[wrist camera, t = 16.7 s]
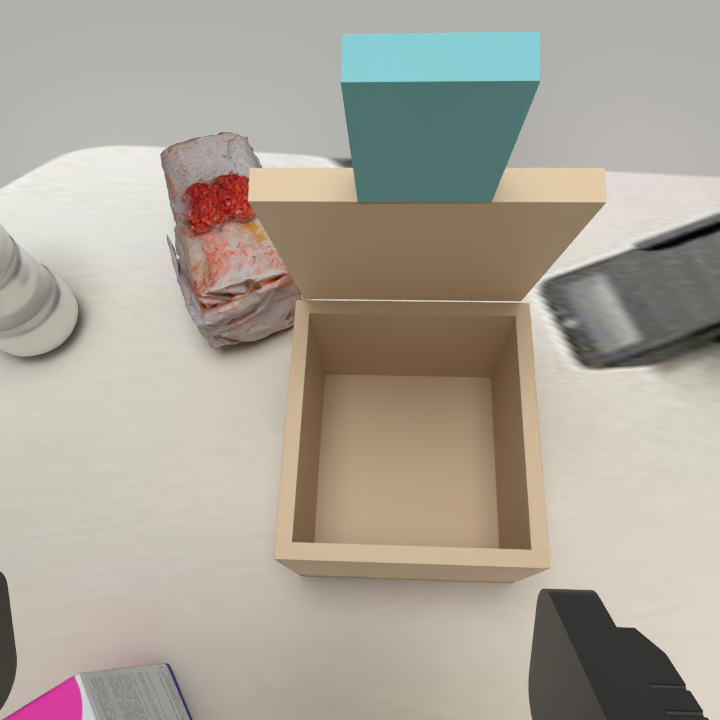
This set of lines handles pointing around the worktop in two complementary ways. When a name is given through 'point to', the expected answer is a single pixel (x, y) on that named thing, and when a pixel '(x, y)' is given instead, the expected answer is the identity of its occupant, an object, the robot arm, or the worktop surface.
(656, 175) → the worktop surface
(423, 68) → the flap
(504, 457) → the carton
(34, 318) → the plastic bottle
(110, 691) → the supplement box
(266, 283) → the food item
